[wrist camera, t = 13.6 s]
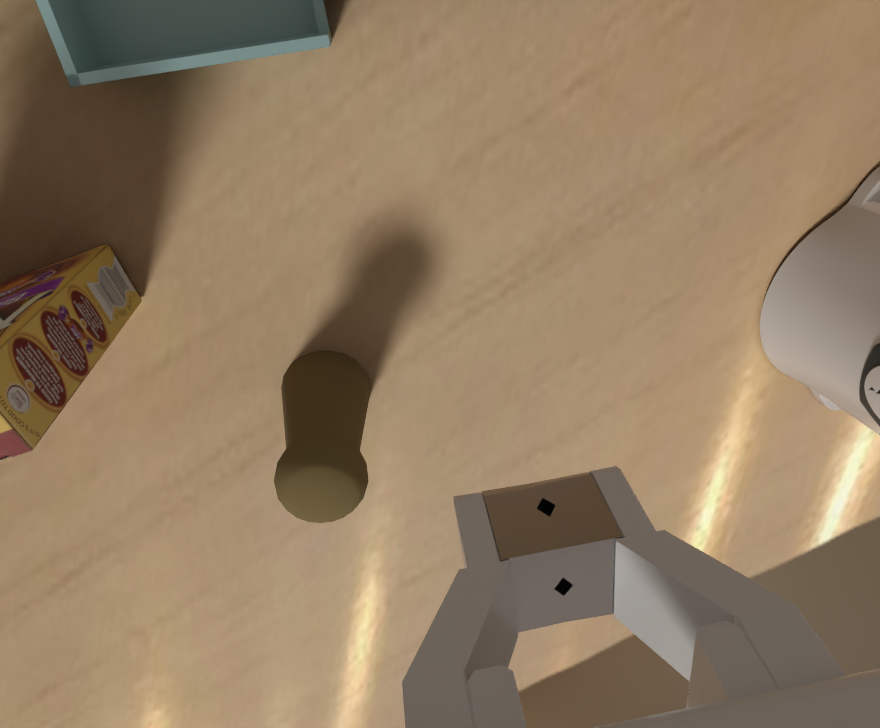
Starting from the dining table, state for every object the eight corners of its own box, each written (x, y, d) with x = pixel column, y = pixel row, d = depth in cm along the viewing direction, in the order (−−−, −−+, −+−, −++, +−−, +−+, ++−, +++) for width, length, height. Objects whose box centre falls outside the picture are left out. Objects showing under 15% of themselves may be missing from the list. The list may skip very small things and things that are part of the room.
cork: (281, 348, 42) (262, 454, 32) (373, 353, 43) (380, 456, 33) (281, 423, 45) (264, 540, 35) (367, 425, 46) (372, 539, 36)
